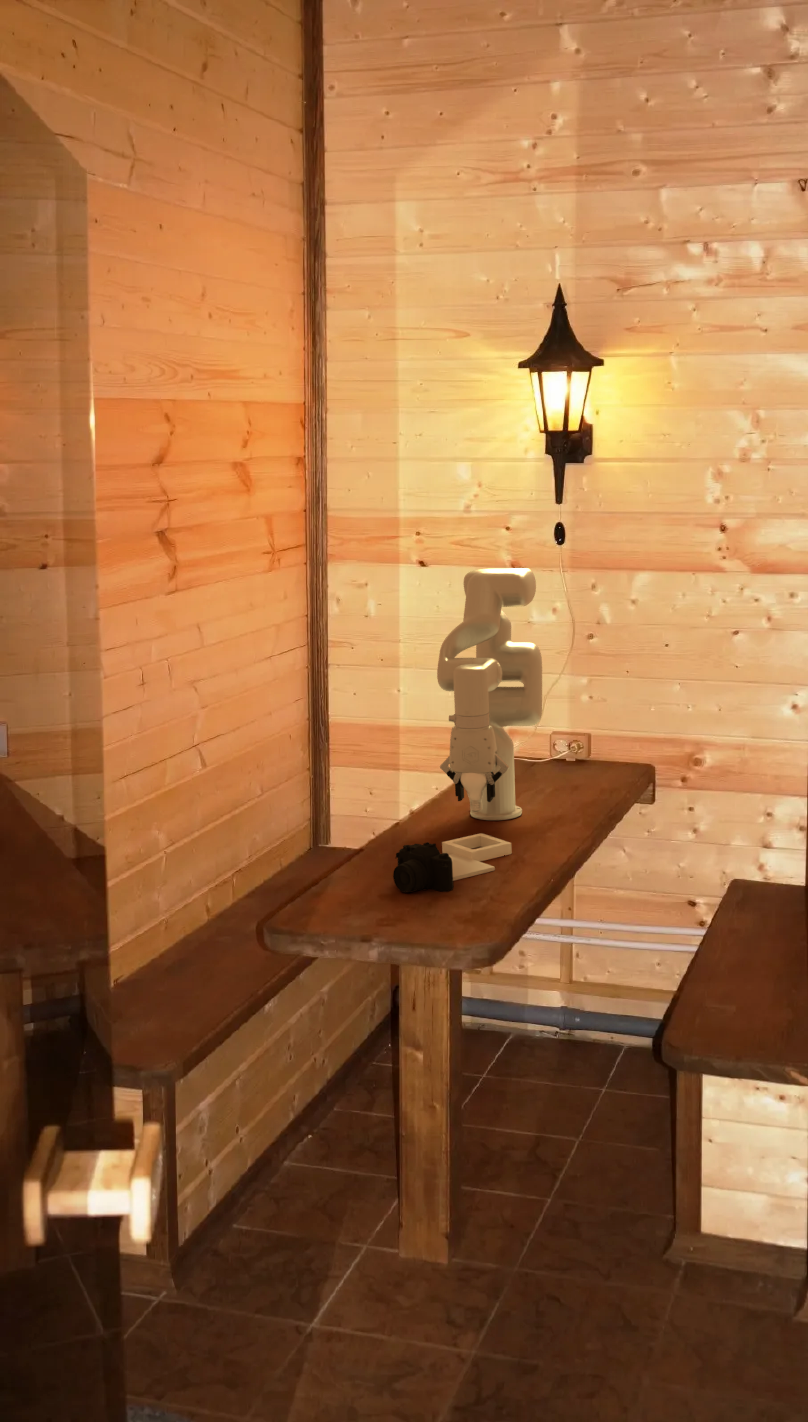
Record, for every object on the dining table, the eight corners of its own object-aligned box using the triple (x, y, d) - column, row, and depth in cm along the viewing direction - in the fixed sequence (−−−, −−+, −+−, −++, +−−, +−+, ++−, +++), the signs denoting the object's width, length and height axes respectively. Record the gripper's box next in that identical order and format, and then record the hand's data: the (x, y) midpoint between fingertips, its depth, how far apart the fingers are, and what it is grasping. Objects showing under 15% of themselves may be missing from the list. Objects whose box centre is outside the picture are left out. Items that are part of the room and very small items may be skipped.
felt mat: (403, 869, 317) (403, 865, 317) (456, 856, 324) (455, 853, 324) (441, 883, 305) (441, 879, 305) (494, 870, 313) (494, 866, 313)
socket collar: (442, 852, 328) (441, 842, 327) (481, 843, 334) (481, 833, 333) (471, 863, 319) (471, 852, 318) (511, 853, 325) (511, 842, 324)
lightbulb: (491, 814, 322) (489, 766, 320) (462, 816, 322) (460, 768, 320) (489, 806, 329) (487, 759, 326) (461, 808, 329) (458, 760, 326)
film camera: (376, 886, 306) (374, 845, 304) (409, 875, 312) (408, 835, 310) (426, 900, 295) (424, 857, 293) (460, 889, 301) (458, 847, 300)
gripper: (429, 724, 320) (433, 803, 324) (507, 725, 315) (510, 806, 319) (438, 716, 327) (442, 794, 331) (514, 717, 322) (517, 796, 326)
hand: (475, 799), depth 325 cm, fingers closed on lightbulb, 6 cm apart
